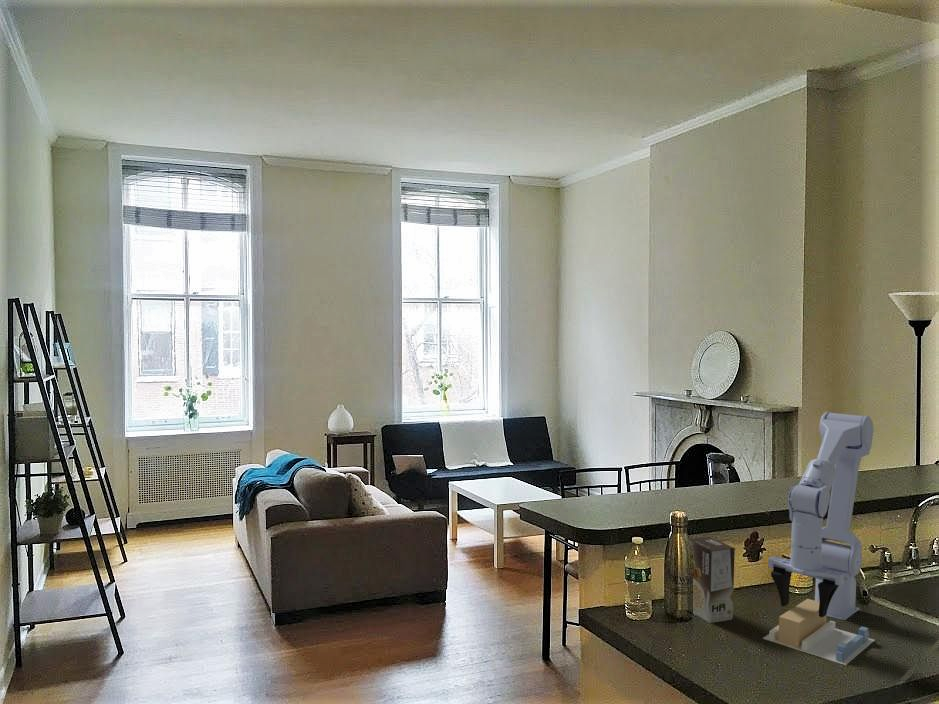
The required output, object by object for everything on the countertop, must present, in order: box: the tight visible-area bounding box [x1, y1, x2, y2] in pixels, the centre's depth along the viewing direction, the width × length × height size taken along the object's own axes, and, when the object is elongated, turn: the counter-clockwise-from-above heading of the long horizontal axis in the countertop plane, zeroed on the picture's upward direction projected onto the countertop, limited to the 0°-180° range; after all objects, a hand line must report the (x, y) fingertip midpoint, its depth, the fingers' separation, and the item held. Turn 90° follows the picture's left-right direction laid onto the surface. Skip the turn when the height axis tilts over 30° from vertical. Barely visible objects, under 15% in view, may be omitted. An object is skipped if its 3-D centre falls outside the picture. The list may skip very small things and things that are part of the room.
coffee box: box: [688, 536, 736, 624], centre depth 169 cm, size 9×6×16 cm
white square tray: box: [762, 620, 876, 666], centre depth 157 cm, size 16×16×3 cm
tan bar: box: [778, 598, 827, 647], centre depth 159 cm, size 14×4×5 cm, turn 135°
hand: (803, 610), depth 159 cm, fingers open, 7 cm apart
